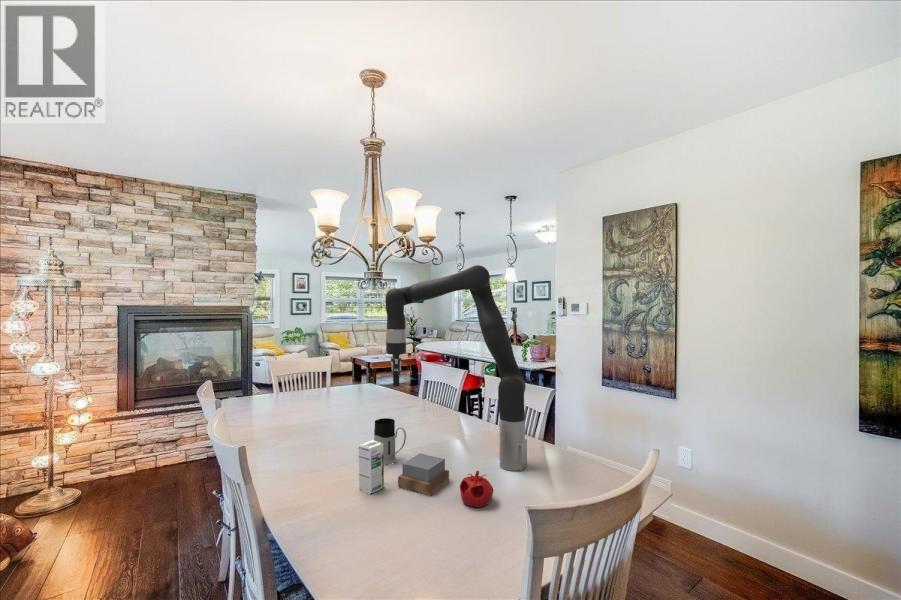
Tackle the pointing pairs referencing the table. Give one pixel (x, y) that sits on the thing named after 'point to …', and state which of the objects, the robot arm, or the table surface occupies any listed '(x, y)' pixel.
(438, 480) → the walnut base block
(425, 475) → the charcoal top block
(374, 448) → the syrup box
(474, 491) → the pomegranate
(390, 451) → the grey mug
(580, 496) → the table surface
